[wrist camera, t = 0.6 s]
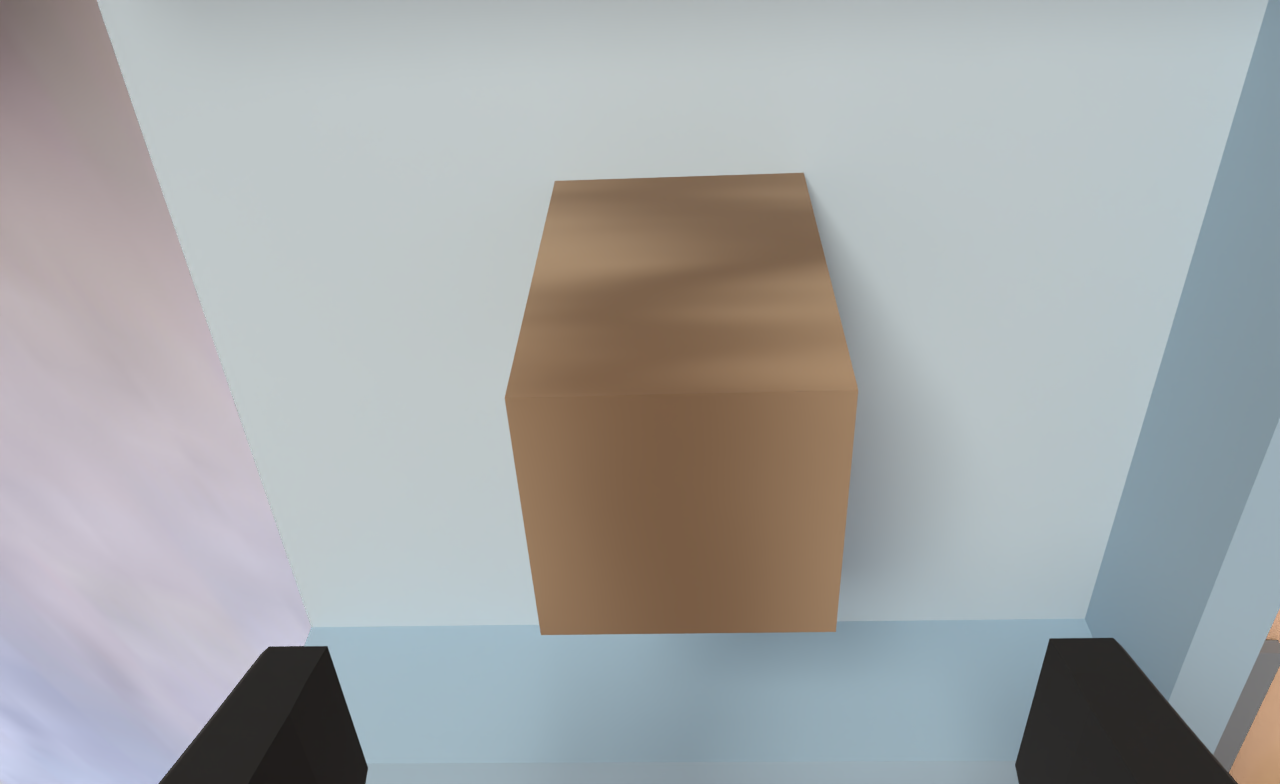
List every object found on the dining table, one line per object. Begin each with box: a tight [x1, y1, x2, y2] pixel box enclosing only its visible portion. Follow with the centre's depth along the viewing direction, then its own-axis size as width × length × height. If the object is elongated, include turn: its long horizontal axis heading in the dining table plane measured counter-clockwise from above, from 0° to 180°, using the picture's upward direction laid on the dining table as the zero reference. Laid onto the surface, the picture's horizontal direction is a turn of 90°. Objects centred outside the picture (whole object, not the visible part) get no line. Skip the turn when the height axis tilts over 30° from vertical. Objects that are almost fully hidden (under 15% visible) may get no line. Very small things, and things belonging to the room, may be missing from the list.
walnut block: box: [505, 173, 858, 635], centre depth 15 cm, size 4×4×6 cm
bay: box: [97, 0, 1280, 784], centre depth 17 cm, size 18×19×5 cm
